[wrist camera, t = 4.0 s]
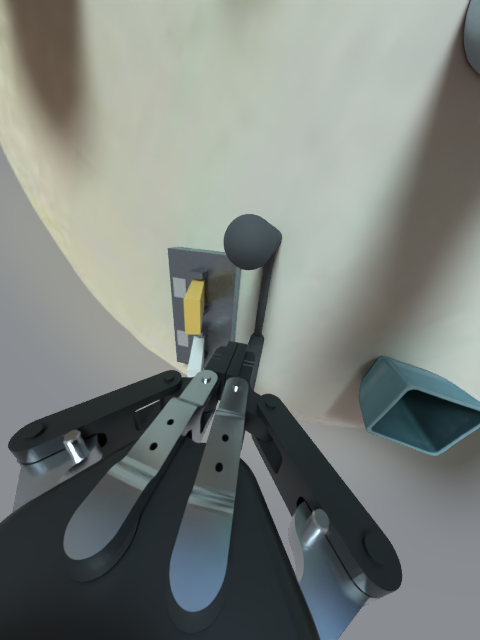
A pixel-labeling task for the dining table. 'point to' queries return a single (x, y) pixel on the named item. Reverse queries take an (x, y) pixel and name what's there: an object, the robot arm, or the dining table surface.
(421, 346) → the dining table surface
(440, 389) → the flower pot
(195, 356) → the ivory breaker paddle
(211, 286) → the strip
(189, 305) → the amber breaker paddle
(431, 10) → the dining table surface
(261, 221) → the cable posts
